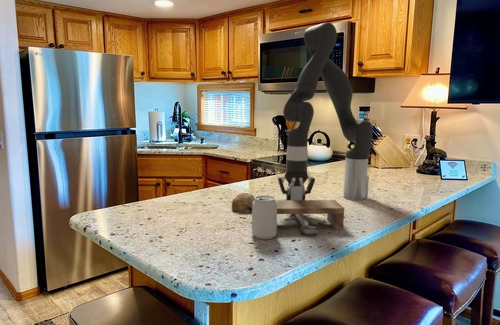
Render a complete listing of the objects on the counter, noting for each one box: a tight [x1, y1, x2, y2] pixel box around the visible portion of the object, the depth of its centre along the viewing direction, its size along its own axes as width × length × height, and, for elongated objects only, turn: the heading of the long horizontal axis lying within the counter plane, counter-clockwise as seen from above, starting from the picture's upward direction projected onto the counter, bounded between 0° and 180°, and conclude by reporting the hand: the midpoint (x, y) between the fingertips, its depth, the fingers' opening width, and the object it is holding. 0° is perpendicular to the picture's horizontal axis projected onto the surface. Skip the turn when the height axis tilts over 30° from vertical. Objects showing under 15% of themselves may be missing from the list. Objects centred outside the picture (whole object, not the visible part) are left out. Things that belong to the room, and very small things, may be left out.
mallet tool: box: [290, 186, 309, 227], centre depth 126 cm, size 4×21×10 cm, turn 4°
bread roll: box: [231, 192, 256, 213], centre depth 139 cm, size 10×10×8 cm
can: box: [251, 194, 278, 240], centre depth 110 cm, size 8×8×12 cm
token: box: [300, 225, 318, 238], centre depth 113 cm, size 5×5×2 cm
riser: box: [275, 199, 345, 230], centre depth 121 cm, size 24×10×7 cm, turn 94°
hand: (295, 204), depth 134 cm, fingers closed on mallet tool, 4 cm apart
